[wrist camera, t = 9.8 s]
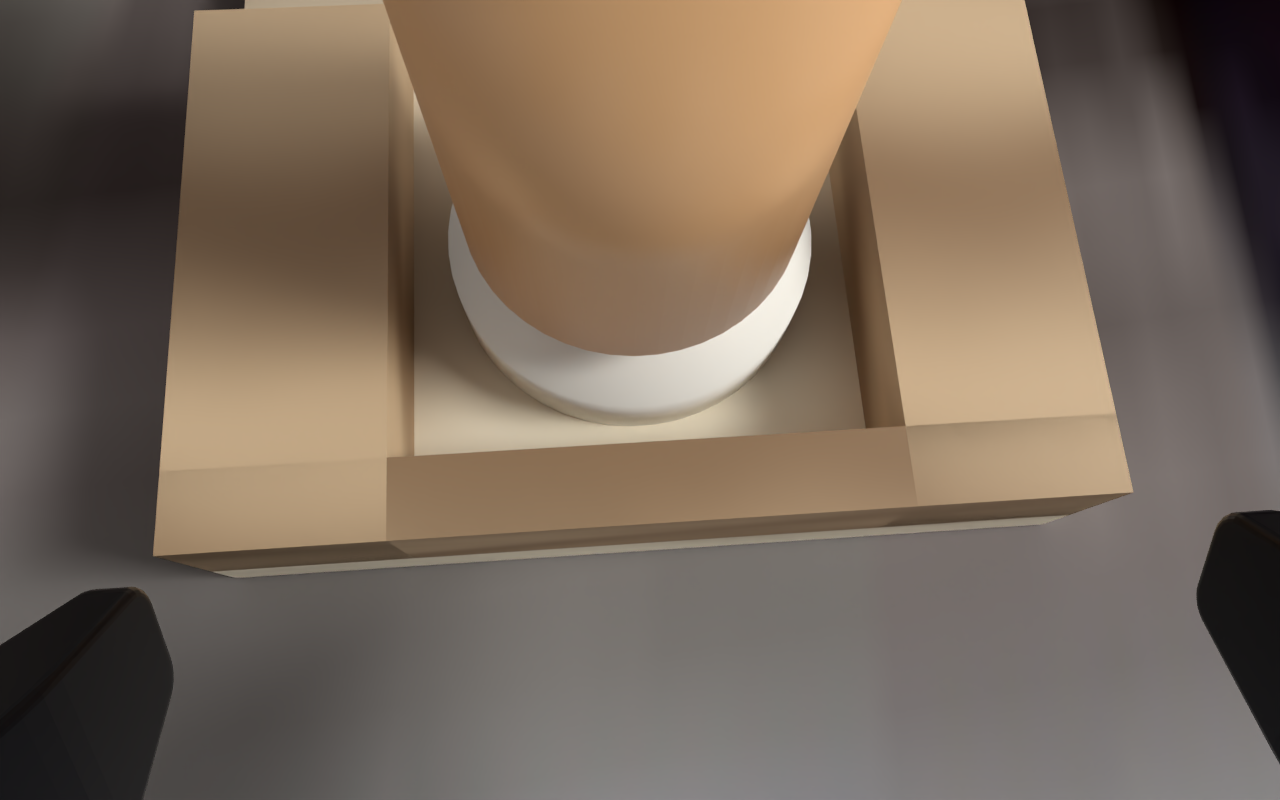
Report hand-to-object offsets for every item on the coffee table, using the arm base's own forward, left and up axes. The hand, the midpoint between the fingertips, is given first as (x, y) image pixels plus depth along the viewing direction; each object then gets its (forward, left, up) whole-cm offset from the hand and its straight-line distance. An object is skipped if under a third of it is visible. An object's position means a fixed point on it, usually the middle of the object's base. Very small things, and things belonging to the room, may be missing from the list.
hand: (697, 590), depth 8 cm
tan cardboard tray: (+5, +11, -8) cm, 15 cm away
